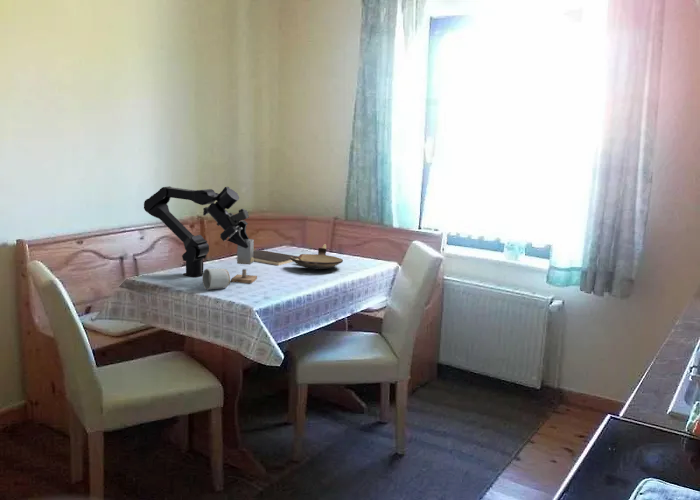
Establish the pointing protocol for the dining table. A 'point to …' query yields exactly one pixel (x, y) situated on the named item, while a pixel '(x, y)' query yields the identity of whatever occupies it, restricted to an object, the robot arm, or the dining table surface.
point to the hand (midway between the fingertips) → (249, 246)
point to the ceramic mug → (215, 278)
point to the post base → (244, 278)
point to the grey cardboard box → (245, 252)
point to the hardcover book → (272, 257)
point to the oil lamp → (317, 260)
